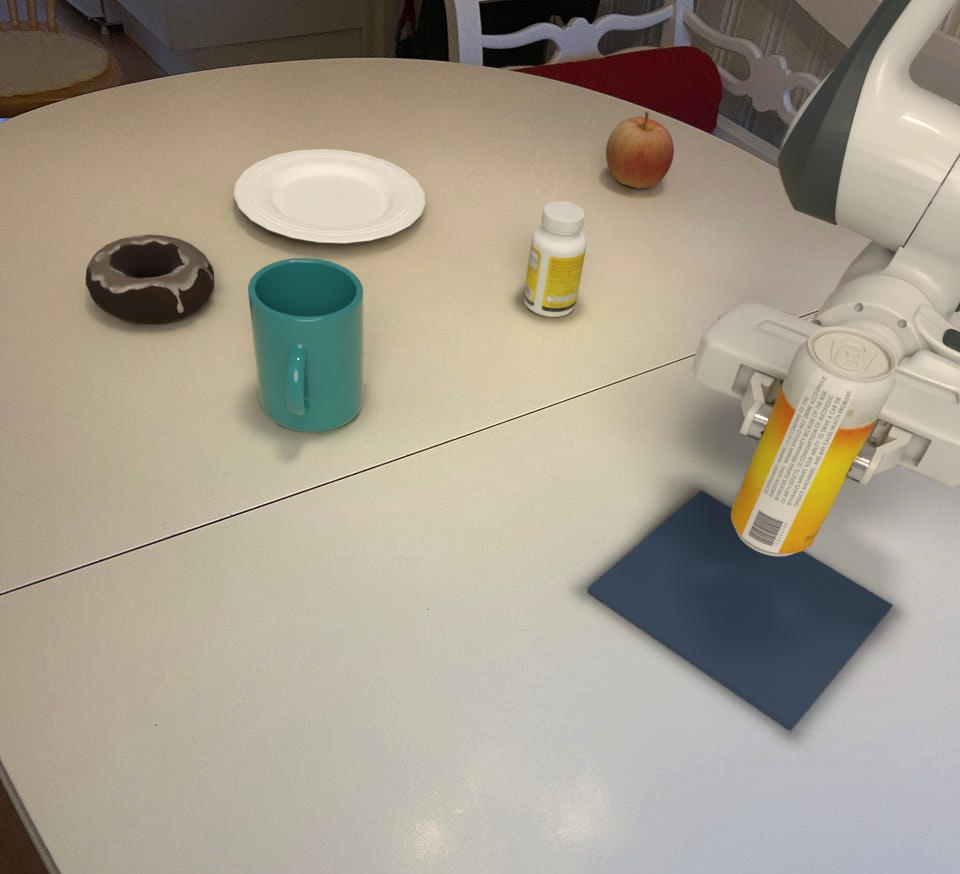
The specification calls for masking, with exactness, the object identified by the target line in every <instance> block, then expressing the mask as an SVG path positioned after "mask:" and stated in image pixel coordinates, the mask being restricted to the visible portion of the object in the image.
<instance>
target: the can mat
mask: <svg viewBox="0 0 960 874" xmlns="http://www.w3.org/2000/svg"><path fill="white" fill-rule="evenodd" d="M732 508H733V507H730V506H729V505H727V504H725V503H724V502H722V501H721V500H719V499H717V498H715V497H713V496H712V495H710V494H709V493H707V492H705V491H704V490H701V489H700V491H699V492H698V493H696V494H695V495H694V496H692V497H691V498H690V499H689V500H688V501H687V502H686V503H684V505H682V506H681V507H680V508H679V509H677V510H676V511H675V512H674V513H673V514H672V515H671V516H670V517H668V518H667V519H666V520H665V521H664V522H663V523H661V524H660V525H659V526H658V527H657V528H656V529H654V530H653V531H652V532H651V533H650V534H649V535H648V536H647V537H645V538H644V539H643V540H642V541H641V542H639V543H638V544H637V545H636V546H634V548H632V549H631V550H630V551H629V552H628V553H627V554H626V555H624V556H623V557H621V559H620V560H619V561H618V562H616V563H615V564H614V565H613V566H611V568H609V569H608V570H607V571H606V572H605V573H604V574H603V575H601V576H600V577H599V578H598V579H597V580H595V581H594V582H593V583H592V584H591V585H590V586H588V588H587V594H589V595H590V596H592V597H594V598H595V599H596V600H598V601H600V602H601V603H603V604H604V605H606V606H607V607H608V608H609V609H611V610H612V611H614V612H616V613H617V614H619V615H620V616H621V617H623V618H624V619H626V620H627V621H629V622H630V623H631V624H633V625H635V626H636V627H638V628H639V629H641V630H642V631H644V632H645V633H646V634H648V635H649V636H650V637H652V638H654V639H655V640H657V642H659V643H661V644H662V645H664V646H666V648H668V649H670V650H671V651H672V652H674V653H676V654H677V655H679V656H680V657H682V658H683V659H684V660H686V661H688V662H689V663H691V664H692V665H693V666H695V667H696V668H697V669H699V670H701V671H702V672H704V673H705V674H707V675H708V676H710V677H711V678H713V679H714V680H715V681H717V682H718V683H720V684H721V685H723V686H724V687H726V688H727V689H728V690H730V691H731V692H733V693H734V694H736V695H737V696H739V697H740V698H742V699H743V700H744V701H746V702H747V703H749V704H750V705H752V706H753V707H755V708H756V709H758V710H759V711H761V712H762V713H764V714H765V715H767V716H768V717H770V718H771V719H772V720H774V721H775V722H777V723H778V724H781V726H783V727H784V728H786V729H787V730H789V731H792V730H793V729H794V727H796V725H797V724H798V722H800V721H801V719H802V717H803V716H804V715H805V714H806V713H807V712H808V710H809V709H810V708H811V707H812V706H813V704H814V703H815V702H816V700H818V698H819V697H820V696H821V695H822V693H823V692H825V690H826V689H827V687H828V686H829V685H830V684H831V683H832V681H833V680H834V679H835V677H836V676H837V675H839V673H840V671H842V669H843V668H844V667H845V665H846V664H847V663H848V662H849V660H851V658H852V657H853V656H854V654H855V653H856V652H857V651H858V649H860V647H861V646H862V645H863V643H864V642H866V640H867V639H868V638H869V636H870V635H871V634H872V632H874V630H875V629H876V628H877V626H878V625H879V624H880V623H881V622H882V620H883V619H885V617H886V615H887V614H888V613H889V612H890V611H891V609H892V608H893V604H892V603H890V602H888V601H886V600H885V599H884V598H882V597H881V596H879V595H877V594H875V593H874V592H872V591H870V590H869V589H867V588H866V587H863V586H862V585H860V584H859V583H857V582H856V581H854V580H852V579H851V578H849V577H847V576H845V575H844V574H842V573H840V572H839V571H837V570H835V569H834V568H833V567H830V566H828V565H827V564H825V563H824V562H822V561H821V560H819V559H817V558H815V557H813V556H812V555H810V554H809V553H807V552H805V550H803V551H800V552H797V553H794V554H791V555H788V556H770V555H766V554H763V553H760V552H758V551H756V550H754V549H752V548H750V547H749V546H748V545H746V544H745V543H744V542H743V541H742V540H741V539H740V537H739V536H738V534H737V532H736V529H735V527H734V525H733V523H732V519H731V511H732Z"/></svg>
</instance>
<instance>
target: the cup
mask: <svg viewBox="0 0 960 874" xmlns="http://www.w3.org/2000/svg"><path fill="white" fill-rule="evenodd" d="M247 295H248V305H249V314H250V315H249V316H250V324H251V331H252V332H251V333H252V340H253V341H252V342H253V352H254V363H255V371H256V381H257V388H258V389H257V391H258V398H259V403H260V406H261V408H262V410H263V412H264V414H265V415H267V417H268V418H270V419H271V421H273V422H275V423H276V424H278V425H280V426H282V427H284V428H286V429H290V430H293V431H297V432H303V433H304V432H305V433H322V432H328V431H332V430H335V429H338V428H340V427H343V426H345V425H346V424H348V423H349V422H351V421H352V420H354V419H355V417H356V416H358V414H359V413H360V411H361V410H362V407H363V404H364V394H365V393H364V392H365V390H364V389H365V388H364V387H365V386H364V385H365V383H364V382H365V381H364V380H365V379H364V372H365V370H364V367H365V366H364V361H365V360H364V357H365V356H364V355H365V354H364V353H365V351H364V348H365V347H364V286H363V284H362V282H361V280H360V279H359V277H358V275H356V274H355V273H354V272H352V271H351V270H350V269H348V268H347V267H344V266H343V265H341V264H338V263H336V262H333V261H329V260H327V259H326V260H325V259H320V258H313V257H312V258H311V257H296V258H295V257H294V258H288V259H287V258H286V259H282V260H278V261H277V260H276V261H275V262H271V263H270V264H267V265H265V266H263V267H262V268H260V269H258V270H257V271H256V272H255V273H254V274H253V275H252V277H251V278H250V280H249V282H248V285H247Z"/></svg>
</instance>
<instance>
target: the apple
mask: <svg viewBox="0 0 960 874" xmlns="http://www.w3.org/2000/svg"><path fill="white" fill-rule="evenodd" d="M649 115H650V113H649V111H645V112H644V116H635V117H629V118H626V119H624V120H623V121H621V122H620V123H618V124H617V125H616V126H615V127H614V129H613V130H612V131H611V133H610V135H609V137H608V140H607V143H606V147H605V159H606V164H607V167H608V170H609V171H610V173H611V175H612V176H613V177H614V179H615V180H616V181H618V182H619V183H620V184H622V185H625V186H629V187H632V188H635V189H646V188H651V187H654V186H655V185H657V184H658V183H660V182H661V181H662V180H663V179H664V177H665V176H666V175H667V173H668V172H669V171H670V168H671V166H672V163H673V160H674V154H675V149H674V148H675V147H674V146H675V145H674V142H673V138H672V135H671V133H670V131H669V129H667V128H666V127H665V126H664V125H663V124H661V123H660V122H658V121H657V120H655V119H651V118H649Z"/></svg>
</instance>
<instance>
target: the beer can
mask: <svg viewBox="0 0 960 874" xmlns="http://www.w3.org/2000/svg"><path fill="white" fill-rule="evenodd" d="M895 367H896V357H895V355H894V353H893V352H892V350H891V349H890V348H889V347H888V346H887V345H886V344H885V343H884V342H883V341H881V340H880V339H878V338H876V337H875V336H873V335H871V334H869V333H866V332H864V331H861V330H858V329H854V328H849V327H842V326H830V327H824V328H821V329H818V330H816V331H815V332H813V333H812V334H811V335H810V337H809V339H808V340H807V341H805V342H804V343H803V344H802V345H801V346H800V347H799V348H798V349H797V351H796V353H795V355H794V358H793V360H792V363H791V365H790V368H789V370H788V372H787V375H786V377H785V380H784V382H783V385H782V387H781V390H780V392H779V395H778V397H777V399H776V402H775V404H774V407H773V409H772V412H771V414H770V417H769V419H768V422H767V425H766V428H765V430H764V431H763V435H762V437H761V440H760V441H759V440H758V441H759V442H758V444H757V446H756V449H755V451H754V453H753V456H752V459H751V461H750V464H749V465H748V469H747V470H746V473H745V476H744V478H743V480H742V483H741V485H740V488H739V491H738V492H737V496H736V497H735V500H734V503H733V504H732V507H731V508H732V511H731V519H732V523H733V525H734V527H735V529H736V532H737V534H738V536H739V537H740V539H741V540H742V541H743V542H744V543H745V544H746V545H748V546H749V547H750V548H752V549H754V550H756V551H758V552H760V553H763V554H766V555H770V556H788V555H791V554H794V553H797V552H800V551H805V550H807V549H808V548H809V547H811V545H812V544H813V543H814V541H815V540H816V538H817V536H818V534H819V532H820V530H821V528H822V526H823V524H824V522H825V521H826V518H827V516H828V514H829V513H830V511H831V509H832V507H833V505H834V503H835V501H836V499H837V498H838V495H839V494H840V492H841V490H842V487H843V486H844V484H845V481H846V480H847V479H848V478H847V477H845V476H846V474H847V472H848V471H849V470H850V469H851V465H852V463H853V461H854V459H855V458H856V457H857V455H858V454H859V453H860V451H861V449H862V447H863V445H864V443H865V441H866V439H867V437H868V435H869V433H870V431H871V429H872V427H873V426H874V424H875V422H876V420H877V418H878V416H879V414H880V412H881V410H882V408H883V406H884V404H885V402H886V400H887V398H888V397H889V395H890V393H891V391H892V389H893V387H894V384H895Z"/></svg>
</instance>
